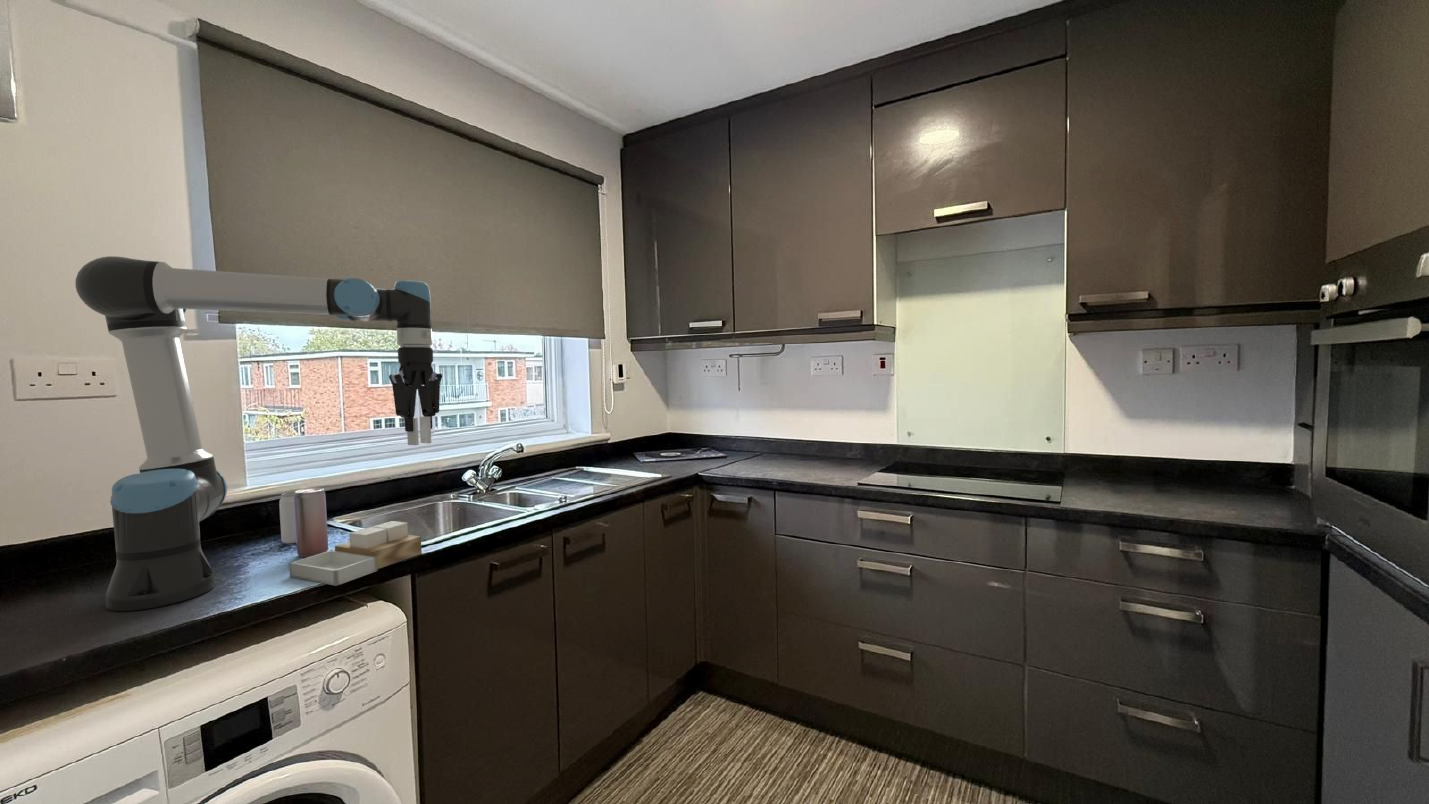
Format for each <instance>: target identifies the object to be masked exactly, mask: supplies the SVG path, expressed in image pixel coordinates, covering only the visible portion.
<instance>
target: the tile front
mask: <svg viewBox="0 0 1429 804" xmlns="http://www.w3.org/2000/svg"><path fill="white" fill-rule="evenodd" d="M348 534H349V542H350V546H351V547H358V548H364V549H367V548H370V547H373V546H376V545H380V544H383V543H386V542H387V536H386V529H382V528H374V527H372V526H370V527H366V528H362V529H359V530H354V531H351V532H349V533H348Z"/></svg>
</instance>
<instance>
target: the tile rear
mask: <svg viewBox="0 0 1429 804" xmlns="http://www.w3.org/2000/svg"><path fill="white" fill-rule="evenodd" d="M371 527H374V528H382V529H386V536H387V541H388V542H389V541H392V540H395V539H399V538H402V537H405V536H408V535H409V530H408V529H409V528H408V522H405V521H404V522H403V521H394V520H391V521H387V522H384V523H380V524H377V525H373V526H371Z"/></svg>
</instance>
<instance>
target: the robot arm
mask: <svg viewBox="0 0 1429 804" xmlns="http://www.w3.org/2000/svg"><path fill="white" fill-rule="evenodd" d="M74 287H75V289H76V293H77V295H78V296H79V299H81V301H82V302H83V303H84V304H85V306H87V307H88V308H89V309H91V310H93V311H94V312H96V313H98V314H99V315H103V316H105V317H104V318H105V323H106V325H107V330H108V334H109V335H111V336H113V337H114V338H116V339H117V340H119V341H121V344H122V349H123V353H124V358H125V362H126V363H125V364H126V368H127V370H128V371H127V372H128V376H129V380H130V385H131V389H132V395H133V399H134V404H135V409H136V412H137V413H136V414H137V418H138V420H139V425H140V430H141V434H142V440H143V445H144V448H145V453H146V459H145V460H144V461H143V462H142V464H141V465H139V467H138V469H139V473H133V474H129V475H127V476H124V477H122V478H119V479H118V480H116V481H115V483H114V484H113V485H112V488H111V496H110V501H109V502H110V506H111V512H112V523H113V533H114V544H115V545H114V547H115V556H116V557H115V558H116V565H115V567H114V569H113V573H112V575H111V577H110V578H111V579H110V581H109V584H108V587H107V590H106V593H105V606H106V609H108V610H110V611H117V612H127V611H128V612H129V611H130V612H131V611H141V610H148V609H153V608H159V607H162V606H163V607H164V606H167V605H172V604H177V603H179V602H180V603H181V602H183V601H187V600H190V599H193V598H196V597H199V596H201V595H203V594H205V593H207V592H209V591H211V590H212V589H213V588H214V587H216V581H215V573H214V570H213V569H212V567H211V565H210V563H209V562H208V559H207V557H206V556H205V554H204V552H203V550H202V547H201V546H202V545H201V532H200V531H201V530H200V522H201V521H203V520H206V519H207V518H210V517H211V516H212V515H213V514H215V513H216V512H217V511H218V510H219V509H220V507H221V506H222V504H223V502H224V501H226V500H225V499H226V497H227V493H228V484H227V482H226V479H225V477H224V475H222V474H221V472H219V471H218V470H217V467H216V462H215V458H214V455H213V454H211V453H210V452H208V451H206V450H204V449H203V445H202V441H201V435H200V432H199V431H200V430H199V427H198V426H199V425H198V421H197V416H196V413H195V408H194V402H193V397H192V393H191V389H190V383H189V378H188V373H187V368H186V364H185V360H184V355H183V351H182V345H181V341H180V337H181V336H182V335H183V334H184V333H185V332H186V331H187V330H188V329H187V323H186V318H185V313H186V311H187V310H199V311H200V310H201V311H202V310H203V311H204V310H205V311H222V312H223V311H228V312H229V311H231V312H253V313H275V314H276V313H278V314H279V313H280V314H296V315H297V314H300V315H305V314H306V315H325V316H327V315H328V316H336V318H338V319H339V320H340V321H350V322H396V345H398V346H399V347H398V349H397V362H398V363H399V366H400V367H399V369H398V372H396V373H394V374H392V373H391V374H389V375H388V379H389V381H390V383H391V385H392V394H393V401H394V409H395V415H396V416H398V417H401V418H402V419H404V431H405V432H406V433H407V434H406V436H407V446H419V445H420V443H421V444H432V429H433V426H434V425H433V417H436V415H437V414H438V413H440V399H441V398H440V393H441V382H442V380H443V379H442V377H443V374H442V373H438V372H435V371H434V368H433V367H432V363H433V362H434V348H433V347H430V346H432V345H433V330H432V327H433V326H432V325H433V324H432V300H431V290H430V285H428V284H427V283H426V282H424V281H419V280H410V279H409V280H408V279H407V280H397V281H395V283H394V286H393V288H390V289H388V288H387V289H386V288H376V287H375V286H374V285H373V284H371V283H370V282H369V281H368V280H367V281H366V280H365V279H362V278H358V277H350V278H346V279H342V278H340V279H339V278H326V277H310V276H309V277H308V276H296V275H280V274H263V273H252V272H251V273H250V272H249V273H248V272H235V271H220V270H205V269H204V270H203V269H191V268H175V267H174V268H173V267H171V265H169V264H168V263H167V262H165V261H157V260H156V261H155V260H154V261H153V260H145V259H144V260H143V259H137V258H136V259H135V258H128V257H124V256H110V255H109V256H103V257H99V258H95V259H93V260H91V261H89V262H87V263H85V264H84V265H83V266H82V267H81V268H80V270H79V271H78V272H77V275H76V277H75V286H74ZM417 391H418V398H419V405H420V409H421V415H422V416H419V420H418V417H415V412H416V400H417ZM418 423H419V424H418ZM419 436H420V443H419Z"/></svg>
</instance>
